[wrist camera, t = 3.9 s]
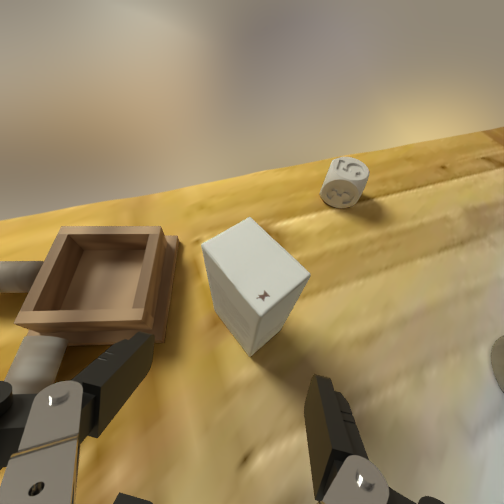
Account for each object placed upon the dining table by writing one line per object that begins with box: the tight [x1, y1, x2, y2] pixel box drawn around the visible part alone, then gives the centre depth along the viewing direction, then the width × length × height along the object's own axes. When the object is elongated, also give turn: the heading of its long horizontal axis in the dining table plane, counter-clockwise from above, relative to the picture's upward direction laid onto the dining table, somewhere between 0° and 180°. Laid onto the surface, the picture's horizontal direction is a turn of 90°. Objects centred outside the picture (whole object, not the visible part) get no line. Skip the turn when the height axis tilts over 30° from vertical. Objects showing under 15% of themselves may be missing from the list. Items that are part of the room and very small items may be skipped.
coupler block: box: [0, 226, 179, 394], centre depth 22 cm, size 18×18×4 cm
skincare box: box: [201, 217, 310, 357], centre depth 19 cm, size 6×4×12 cm
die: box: [320, 157, 369, 208], centre depth 33 cm, size 5×5×5 cm
